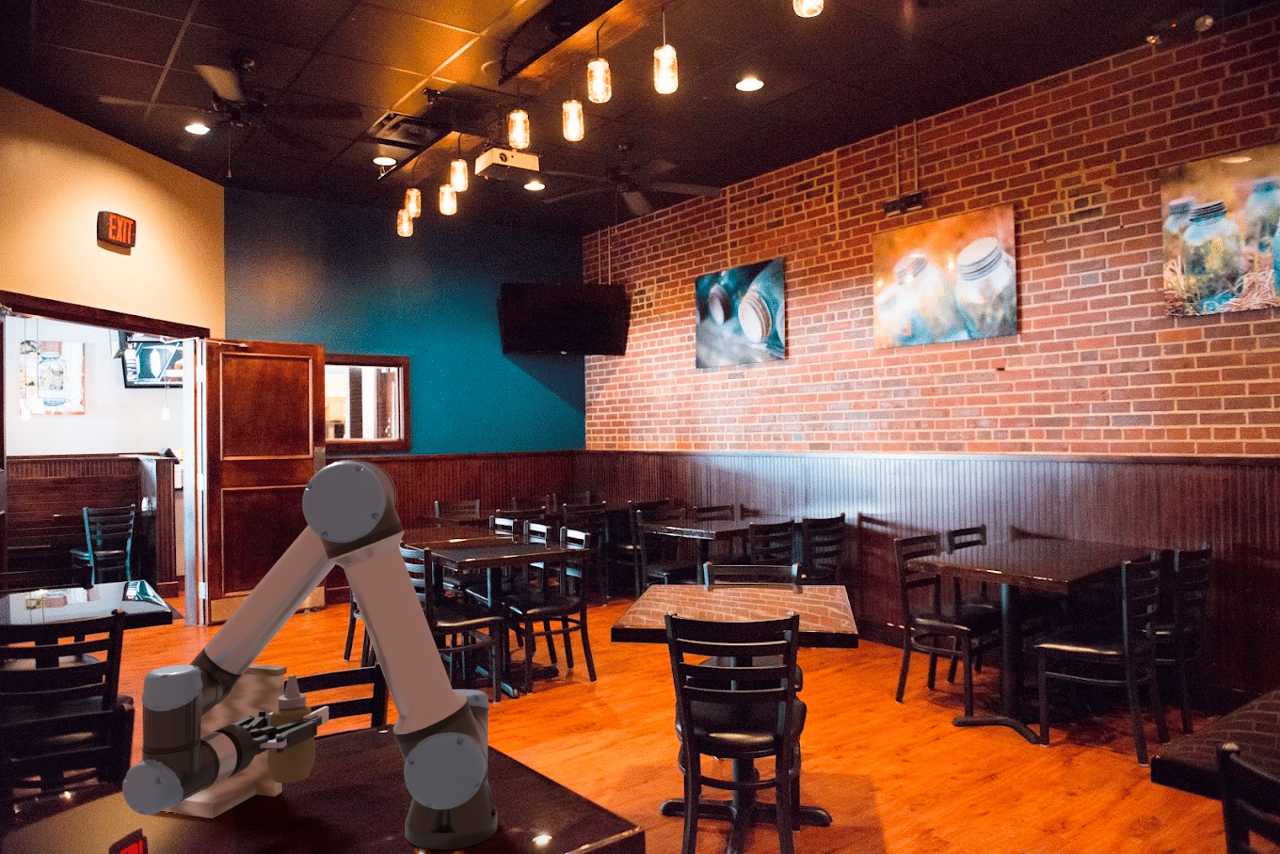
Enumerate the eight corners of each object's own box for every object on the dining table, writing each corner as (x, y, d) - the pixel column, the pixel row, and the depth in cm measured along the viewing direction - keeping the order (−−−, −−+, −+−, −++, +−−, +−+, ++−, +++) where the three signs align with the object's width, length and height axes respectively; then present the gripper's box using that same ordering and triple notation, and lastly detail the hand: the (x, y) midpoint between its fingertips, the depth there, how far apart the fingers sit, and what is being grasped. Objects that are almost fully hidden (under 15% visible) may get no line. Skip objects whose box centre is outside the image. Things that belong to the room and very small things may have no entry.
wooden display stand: (284, 792, 160) (286, 666, 161) (234, 820, 147) (237, 684, 148) (199, 782, 165) (203, 660, 166) (144, 809, 152) (148, 677, 153)
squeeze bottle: (298, 788, 147) (299, 682, 148) (256, 785, 149) (257, 680, 149) (325, 771, 155) (325, 671, 156) (285, 768, 157) (285, 669, 157)
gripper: (167, 774, 137) (263, 729, 159) (272, 784, 132) (356, 737, 155) (167, 726, 137) (263, 689, 160) (272, 735, 133) (356, 694, 155)
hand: (309, 712), depth 157 cm, fingers closed on squeeze bottle, 6 cm apart
